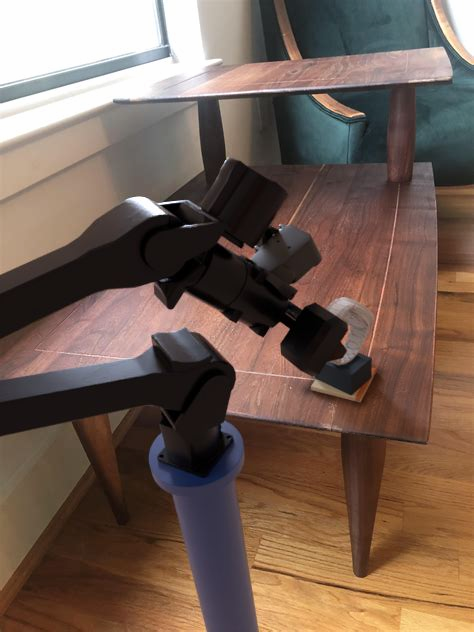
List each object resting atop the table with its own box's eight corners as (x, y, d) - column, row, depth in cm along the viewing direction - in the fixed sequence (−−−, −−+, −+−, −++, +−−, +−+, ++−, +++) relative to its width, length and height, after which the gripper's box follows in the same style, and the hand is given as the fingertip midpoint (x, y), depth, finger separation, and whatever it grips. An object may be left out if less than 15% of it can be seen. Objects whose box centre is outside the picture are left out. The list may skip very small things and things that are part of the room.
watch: (380, 370, 70) (382, 295, 64) (342, 403, 65) (341, 326, 59) (343, 354, 73) (342, 282, 68) (305, 385, 69) (301, 310, 63)
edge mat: (360, 402, 66) (360, 398, 66) (311, 390, 69) (310, 386, 68) (376, 371, 70) (376, 368, 70) (329, 361, 73) (329, 357, 73)
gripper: (331, 241, 46) (417, 310, 56) (224, 189, 60) (308, 251, 70) (259, 351, 47) (356, 399, 57) (171, 275, 61) (261, 324, 71)
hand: (318, 335), depth 64 cm, fingers open, 9 cm apart
